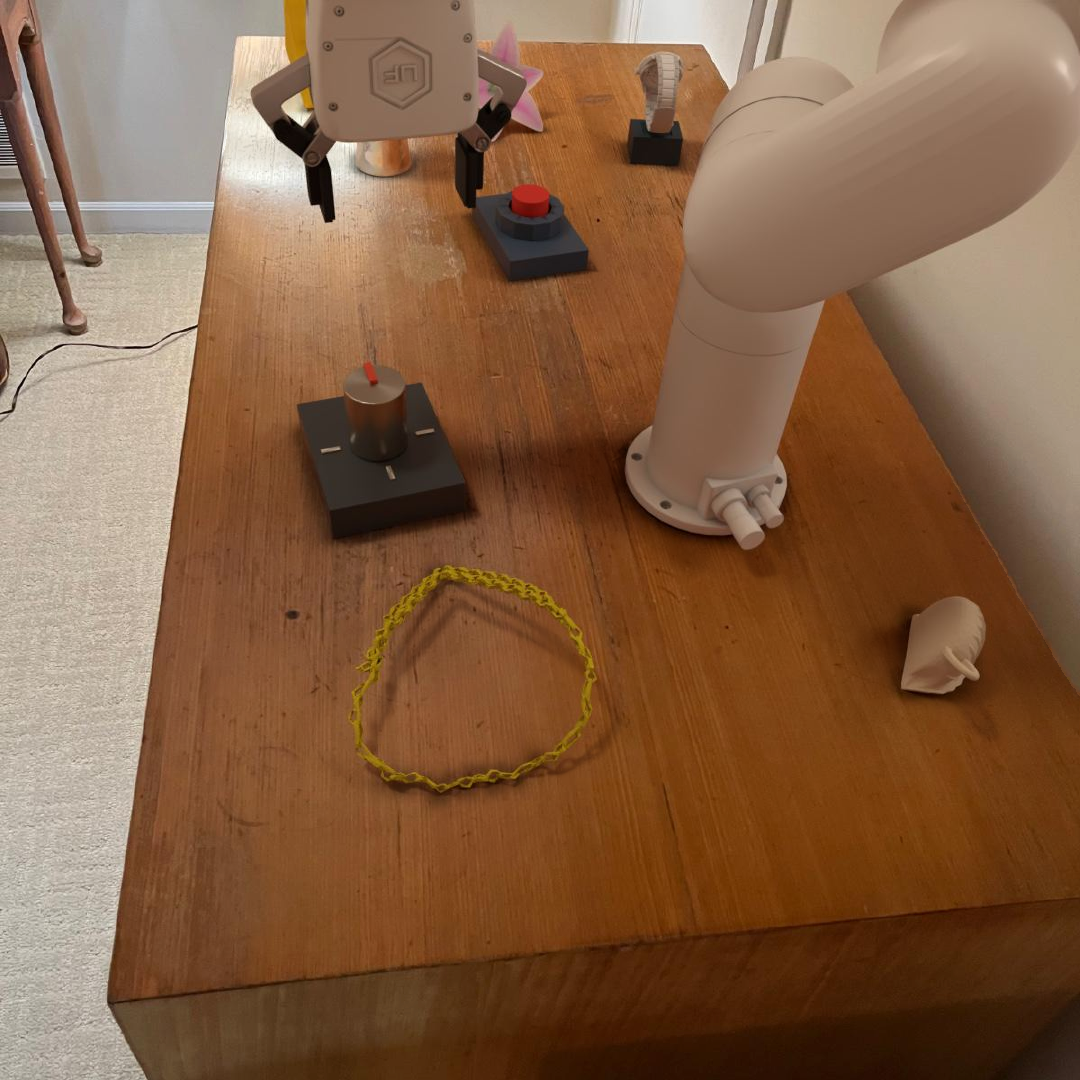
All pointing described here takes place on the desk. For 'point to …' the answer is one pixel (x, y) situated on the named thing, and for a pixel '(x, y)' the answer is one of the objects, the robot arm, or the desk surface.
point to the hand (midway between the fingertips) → (397, 205)
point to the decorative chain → (411, 602)
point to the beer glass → (383, 157)
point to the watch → (657, 112)
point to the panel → (381, 469)
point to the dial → (376, 412)
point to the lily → (510, 54)
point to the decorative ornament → (943, 646)
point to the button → (530, 201)
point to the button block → (529, 238)
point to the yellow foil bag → (296, 37)
